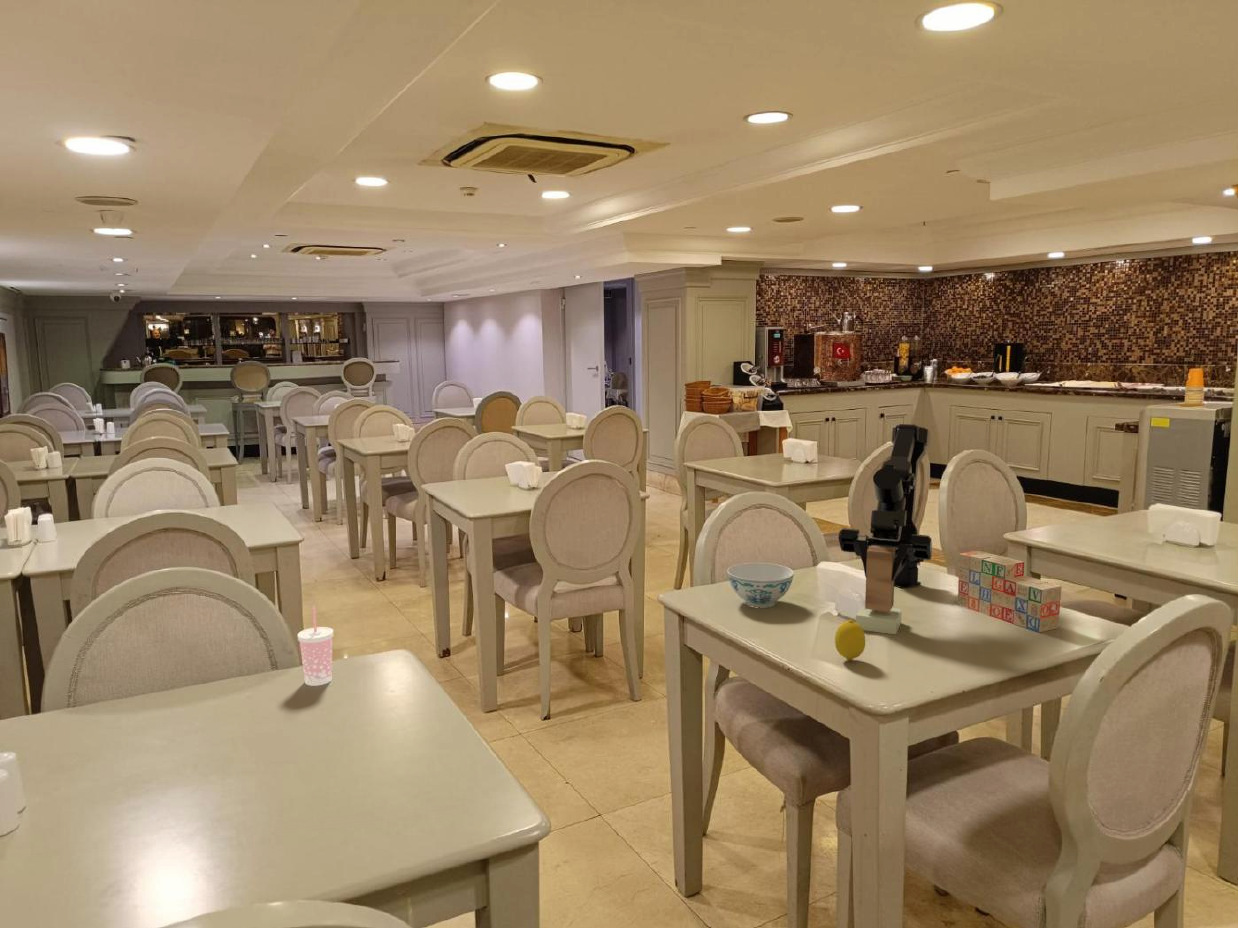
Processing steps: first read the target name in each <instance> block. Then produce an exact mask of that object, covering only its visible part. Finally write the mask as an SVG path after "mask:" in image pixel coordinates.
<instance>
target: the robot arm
mask: <svg viewBox="0 0 1238 928" xmlns="http://www.w3.org/2000/svg"><path fill="white" fill-rule="evenodd" d="M930 442H931V432H930V430H929V429H927V428H926V427H923V426H919V425H917V424H916V423H915V424H910V423H909V424H908V423H907V424H906V423H899V424H896V426H895V427H892V434H891V443H892V444H893V445H892V447H893V448H892V450H891V453H890V458H889V459H888V460H885V461H883V462H882V465H881V467H880V469H878V470H876V472H875V473H874V474H873V476H872V481H873V487H874V493H875V498H876V499H877V506H876V510H874V509H873V510H871V516H870V531H869V532H870V534H871V536H868V535H867V534H863V533H860V529H855V528H846V527H845V528H844V527H843V528H841V530H839V533H838V537H837V538H838V542H839V547H840V550H841V551H842V552H845V553H847V552H848V553H855V555H856V556H857V557H860V559H861V562H862V565H863V570H864V577H865V578H866V564H867V550H868V549H869V547H870V546H871V545H874V546H885V547H895V548H896V551H895V564H894V567H893V571H892V580H893V581H894V587H895V586H896V587H898V588H901V589H906V588H911V587H915V586H919V585H922V582H921V581H919V568H918V564H920V563H923V562H924V561H925V560H927V561H929V560H932V556H933V543H932V542H933V541H932V537H930V535H926V534H925V535H924V534H920V531H919V530H918V528H917V525H916V524H915V522H914V519H915V509H916V495H917V486H918V485H917V483H918V471H919V470H918V469H919V464H920V462H921V461H922V460H923V458H924V457H925V456H926V454H927V447H929V446H930V444H931V443H930Z"/></svg>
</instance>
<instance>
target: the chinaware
mask: <svg viewBox="0 0 1238 928" xmlns="http://www.w3.org/2000/svg"><path fill="white" fill-rule="evenodd" d="M726 571H727V577H728V581H729V584H730V586H731V588H732V589H733V591H734V592H735V594H737V595H738V596H739V598H741V600H743V601H744V604H745V605H746V604H747V606H748V605H749V606H748V607H750V606H753V607H752V608H754V607H760V608H759V609H766V608H765V607H769V608H772V607H774V606H775V605H776V602H778V601H779V600H780V599H782V598H783V596H785V595H786V593H787V592H788V591H789V590H790V587H791V585H792V583H793V579H794V574H795V572H794V570H793V569H791V568H789V567H787V566H784V565H780V564H776V563H768V562H767V563H766V562H744V563H739V564H735V565H732V566H730V567H728V569H727V570H726ZM774 604H775V605H774ZM773 605H774V606H773ZM771 606H772V607H771Z"/></svg>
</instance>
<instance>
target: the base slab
mask: <svg viewBox="0 0 1238 928" xmlns="http://www.w3.org/2000/svg"><path fill="white" fill-rule="evenodd" d="M855 622H856V623H857V624H859V625H860V626H861V627H862V629H863V631H867V632H875V633H882V634H888V635H896V634H897V633H898V631H899V627H900V625H901V624H902V608H896V607H895V608H894V607H892V609H891V611H890V612H887V611H879V610H871V609H866V610H861V609H859V610H858V611H857V613H856V615H855Z"/></svg>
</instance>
